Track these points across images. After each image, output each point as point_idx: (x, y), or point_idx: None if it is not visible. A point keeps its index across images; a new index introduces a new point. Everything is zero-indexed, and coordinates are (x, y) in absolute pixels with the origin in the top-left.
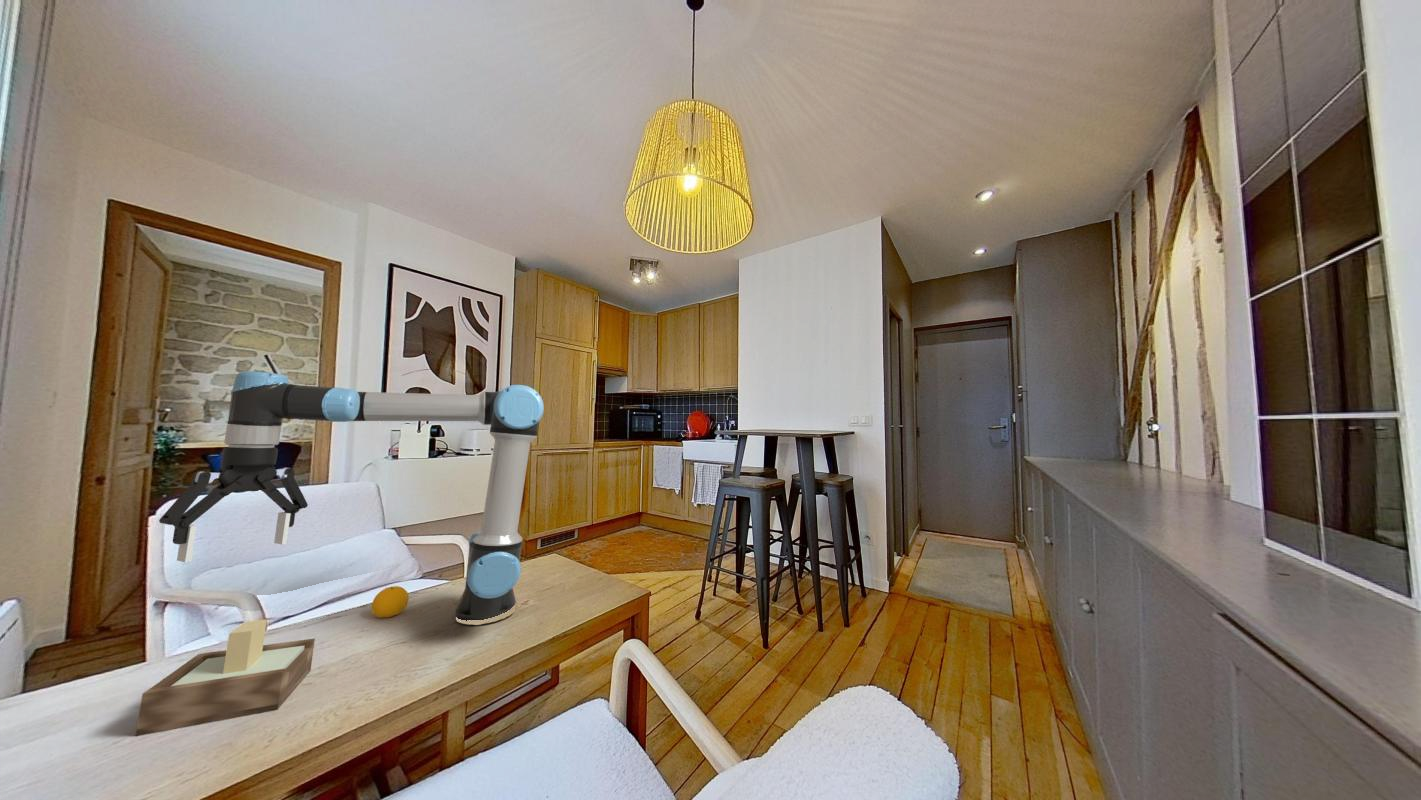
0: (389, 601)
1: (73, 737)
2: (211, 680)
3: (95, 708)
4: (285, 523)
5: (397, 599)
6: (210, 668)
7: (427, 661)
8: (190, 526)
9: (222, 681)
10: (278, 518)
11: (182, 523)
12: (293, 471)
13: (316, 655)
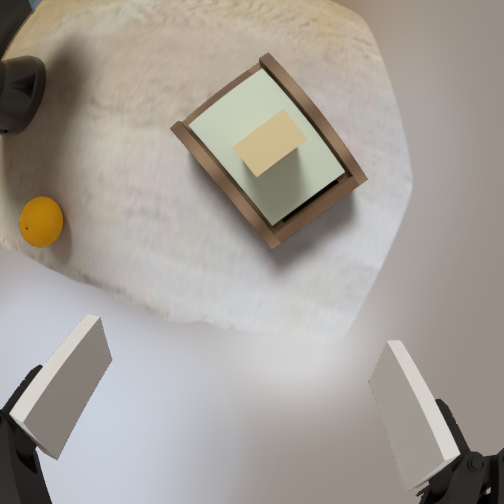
0: (42, 206)
1: (362, 236)
2: (320, 126)
3: (323, 286)
4: (47, 382)
5: (35, 201)
6: (291, 181)
7: (126, 23)
8: (459, 453)
9: (316, 107)
10: (64, 435)
11: (484, 459)
12: None
13: (154, 175)
